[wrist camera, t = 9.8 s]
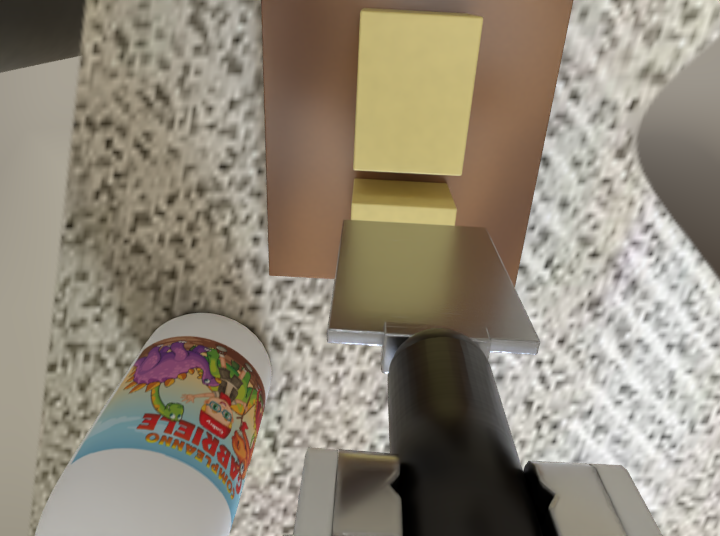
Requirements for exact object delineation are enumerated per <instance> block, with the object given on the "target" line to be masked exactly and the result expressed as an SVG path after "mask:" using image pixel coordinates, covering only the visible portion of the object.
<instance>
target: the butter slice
mask: <svg viewBox="0 0 720 536" xmlns="http://www.w3.org/2000/svg"><path fill="white" fill-rule="evenodd" d="M456 213H457V208H456V206H455V203H454V200H453V198H452V195H451V193H450V190H449V187H448V185H447V184H446V183H430V182H412V181H394V180H375V179H357V178H356V179H354V185H353V195H352V205H351V220H363V221H380V222H398V223H416V224H433V225H451V226H455V220H456Z"/></svg>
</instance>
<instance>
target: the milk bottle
mask: <svg viewBox="0 0 720 536" xmlns="http://www.w3.org/2000/svg"><path fill="white" fill-rule="evenodd" d="M271 378H272V368H271V363H270V359H269V356H268V354H267V352H266V350H265V348H264V346H263V344H262V343H261V341H260V340H259V339H258V338H257V337H256V335H255V334H254V333H252V332H251V331H250V330H249V329H248V328H247V327H245V326H243V325H242V324H240V323H238V322H237V321H235V320H232V319H230V318H227V317H225V316H221V315H216V314H212V313H194V314H186V315H183V316H180V317H176V318H174V319H172V320H169V321H167V322H166V323H164V324H163V325H161V326H160V327H159V328H158V329H157V330H156V331H155V332H154V333H153V334H152V335H151V337H150V338H149V340H148V341H147V342H146V344H145V345H144V346H143V348H142V350H141V351H140V353H139V354H138V356H137V357H136V359H135V360H134V362H133V363H132V365H131V366H130V368H129V369H128V371H127V372H126V374H125V375H124V377H123V378H122V380H121V381H120V383H119V385H118V386H117V388H116V389H115V391H114V392H113V394H112V395H111V397H110V398H109V400H108V401H107V403H106V404H105V406H104V408H103V409H102V411H101V412H100V414H99V415H98V417H97V419H96V420H95V422H94V423H93V425H92V426H91V428H90V430H89V431H88V433H87V434H86V436H85V437H84V439H83V440H82V442H81V444H80V445H79V447H78V448H77V450H76V451H75V453H74V455H73V456H72V458H71V460H70V462H69V463H68V465H67V467H66V468H65V470H64V472H63V473H62V475H61V477H60V479H59V480H58V482H57V484H56V485H55V487H54V489H53V490H52V493H51V495H50V497H49V499H48V501H47V503H46V505H45V508H44V510H43V512H42V515H41V518H40V521H39V523H38V526H37V529H36V533H35V536H229V533H230V529H231V526H232V523H233V520H234V517H235V514H236V510H237V507H238V503H239V500H240V496H241V493H242V489H243V485H244V482H245V478H246V475H247V471H248V468H249V464H250V460H251V457H252V453H253V449H254V445H255V442H256V438H257V434H258V431H259V427H260V423H261V419H262V416H263V412H264V408H265V404H266V400H267V397H268V393H269V388H270V383H271Z"/></svg>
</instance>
